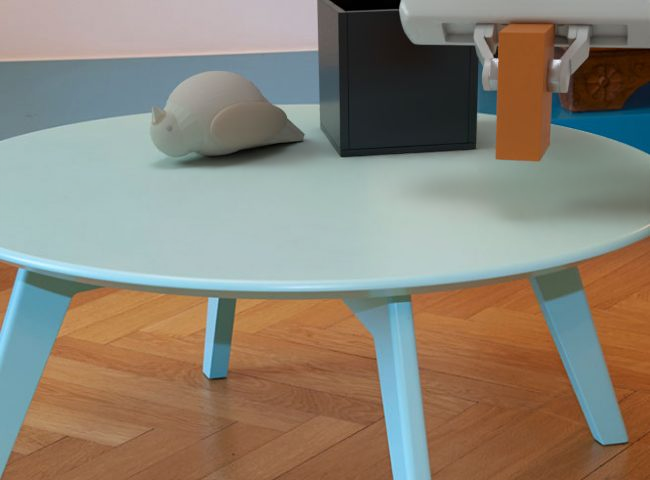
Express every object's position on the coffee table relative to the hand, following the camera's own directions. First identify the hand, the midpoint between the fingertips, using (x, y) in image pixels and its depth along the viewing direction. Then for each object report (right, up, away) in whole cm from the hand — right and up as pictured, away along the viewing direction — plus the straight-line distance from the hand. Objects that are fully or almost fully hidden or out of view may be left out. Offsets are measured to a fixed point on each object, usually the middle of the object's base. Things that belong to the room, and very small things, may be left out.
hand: (524, 87), depth 81 cm
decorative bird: (-23, -1, +24) cm, 33 cm away
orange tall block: (0, -4, +2) cm, 5 cm away
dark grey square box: (-8, +1, +27) cm, 29 cm away
